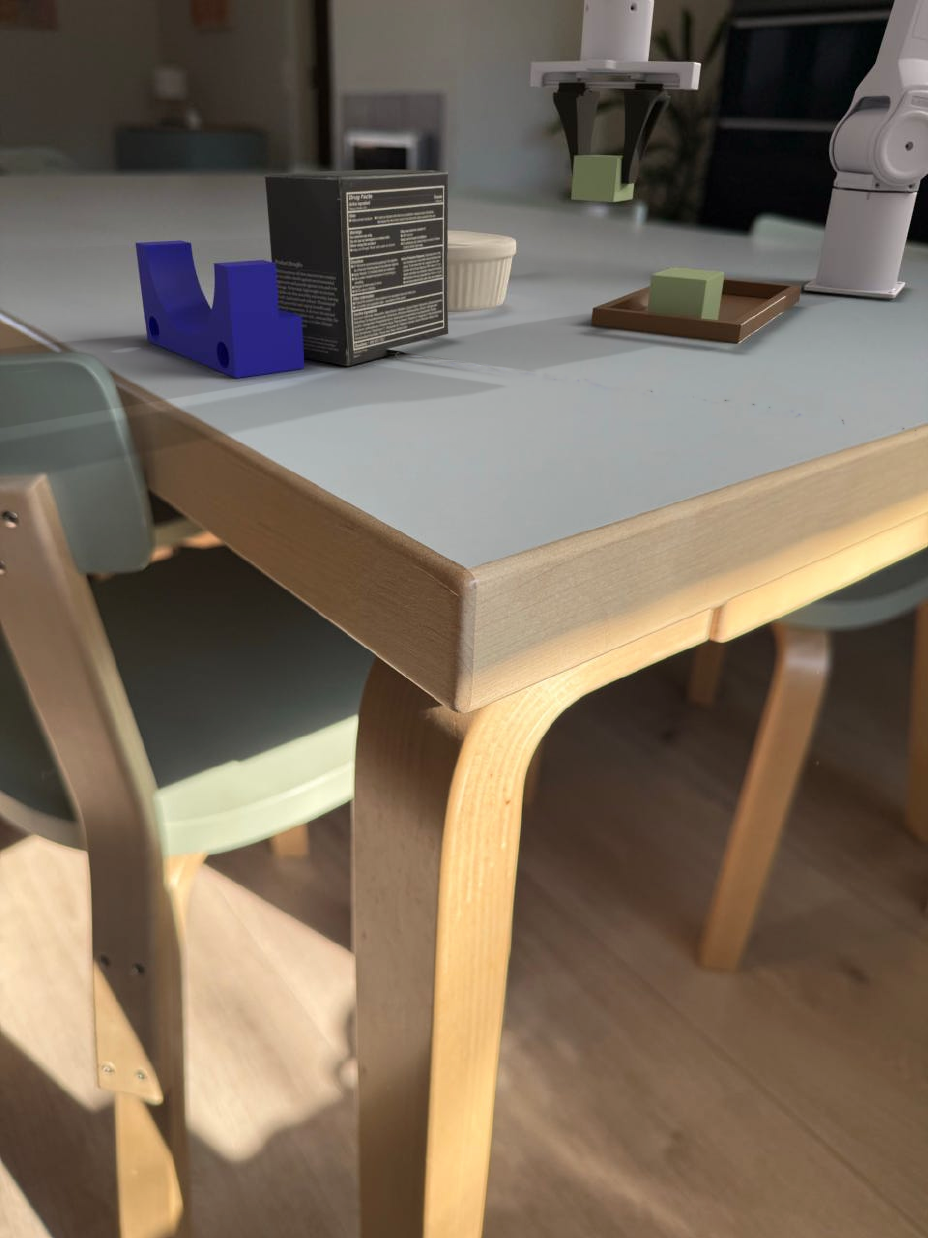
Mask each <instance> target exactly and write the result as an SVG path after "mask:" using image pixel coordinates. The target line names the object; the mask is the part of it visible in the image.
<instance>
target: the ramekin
mask: <svg viewBox="0 0 928 1238" xmlns="http://www.w3.org/2000/svg"><path fill="white" fill-rule="evenodd" d="M516 253H517V241H516V239H515V238H514V237H510V236H507V235H501V234H493V233H484V232H475V231H467V230H448V254H447V263H448V266H447V269H448V272H447V275H448V277H447V284H448V286H447V288H448V289H447V301H448V307H447V309H448V312H469V311H470V312H472V311H482V310H490V309H494V308H497V307H499V306H501V305H503V303H504V301H505V298H506V294H507V289H508V284H509V283H508V282H509V279H510V274H511V269H512V262H513V257H514V255H515V254H516Z"/></svg>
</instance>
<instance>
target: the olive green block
mask: <svg viewBox="0 0 928 1238" xmlns="http://www.w3.org/2000/svg"><path fill="white" fill-rule="evenodd" d="M622 158H623V155H606V154H605V155H603V154H591V155H580V156H574V168H573V179H572V183H571V197H570V199H571V200H573V201H586V202H587V201H588V202H601V203H603V202H604V203H617V202H624V201H631V200H634V199H633V198H634V191H635V190H634V189H635V183H633V184H621V167H622Z"/></svg>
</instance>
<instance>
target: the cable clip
mask: <svg viewBox="0 0 928 1238" xmlns="http://www.w3.org/2000/svg"><path fill="white" fill-rule="evenodd" d="M192 247H193V246H192V242H189V241H185V240H161V241H160V240H159V241H145V242H143V241H139V242H135V250H136V258H137V259H136V260H137V266H138V275H139V284H140V291H141V299H142V307H143V314H144V315H143V316H144V323H145V332H146V340H147V342H149V343H151V344H154V345H156V346H157V347H161V348H163V349H166V350H168V351H170V352H173V353H175V354H177V355H180V356H182V357H183V358H186V359H189V360H191V361H194V362H197V363H199V364H201V365H203V366H206V367H208V368H211V369H213V370H216V371H217V372H220V373H223V374H224V375H227V376H229V377H233V378H235V379H241V378H247V377H254V376H260V375H261V376H262V375H267V374H274V373H275V374H276V373H281V372H289V371H295V370H303V369H305V357H304V351H303V330H302V316H299V315H296V314H293V313H289V312H286V311H283V310H280V309H279V308H278V291H277V275H276V263H273V262H272V261H269V260H265V259H258V260H257V259H255V260H241V261H225V262H214V263H213V272H214V283H213V284H214V286H213V287H214V288H213V299H212V305H211V306H210V304H209V302H208V300H207V298H206V296H205V294H204V292H203V288H202V287H201V283H200V280H199V278H198V273H197V269H196V265H195V261H194V260H195V259H194V254H193V248H192Z"/></svg>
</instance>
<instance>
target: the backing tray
mask: <svg viewBox="0 0 928 1238" xmlns="http://www.w3.org/2000/svg"><path fill="white" fill-rule="evenodd" d="M649 291H650V285H648V286H646V287H644V288H641V289H638V290H635V291H633V292H630V293H628V294H626V295H623V296H621V297H618V298H616V299H613V300H610V301H608V302H605V303H603V304H600V305H597V306H594V307H592V313H591V323H590V324H591V325H590V326H591V327H595V328H596V327H597V328H604V329H605V328H606V329H613V330H622V331H630V332H638V333H645V334H655V335H663V336H670V337H677V338H679V337H680V338H686V339H687V338H688V339H693V340H695V339H696V340H704V341H712V342H720V343H726V344H727V343H728V344H735V345H739V344H741V343H742V342H744V341H745V340H746V339H747V338H749V337H751V336H752V335H754V334H755V333H756V332H757V331H760V329H761V328H763V327H764V326H766V325H767V324H769V323H770V322H772V321H773V320H774V319H776V318H778V317H779V316H780V315H781V314H783V313H784V312H786V311H787V310H788V309H790V308H791V307H793V306H795V305H796V304H797V303H799V302H800V298H801V293H802V285H798V284H790V283H789V284H788V283H777V282H767V281H758V280H757V281H756V280H747V279H735V278H727V277H726V278H725V277H724V281H723V288H722V295H721V301H720V308H719V315H718V320H712V319H703V318H694V317H685V316H677V315H668V314H659V313H650V312H647V308H648V300H649Z"/></svg>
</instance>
